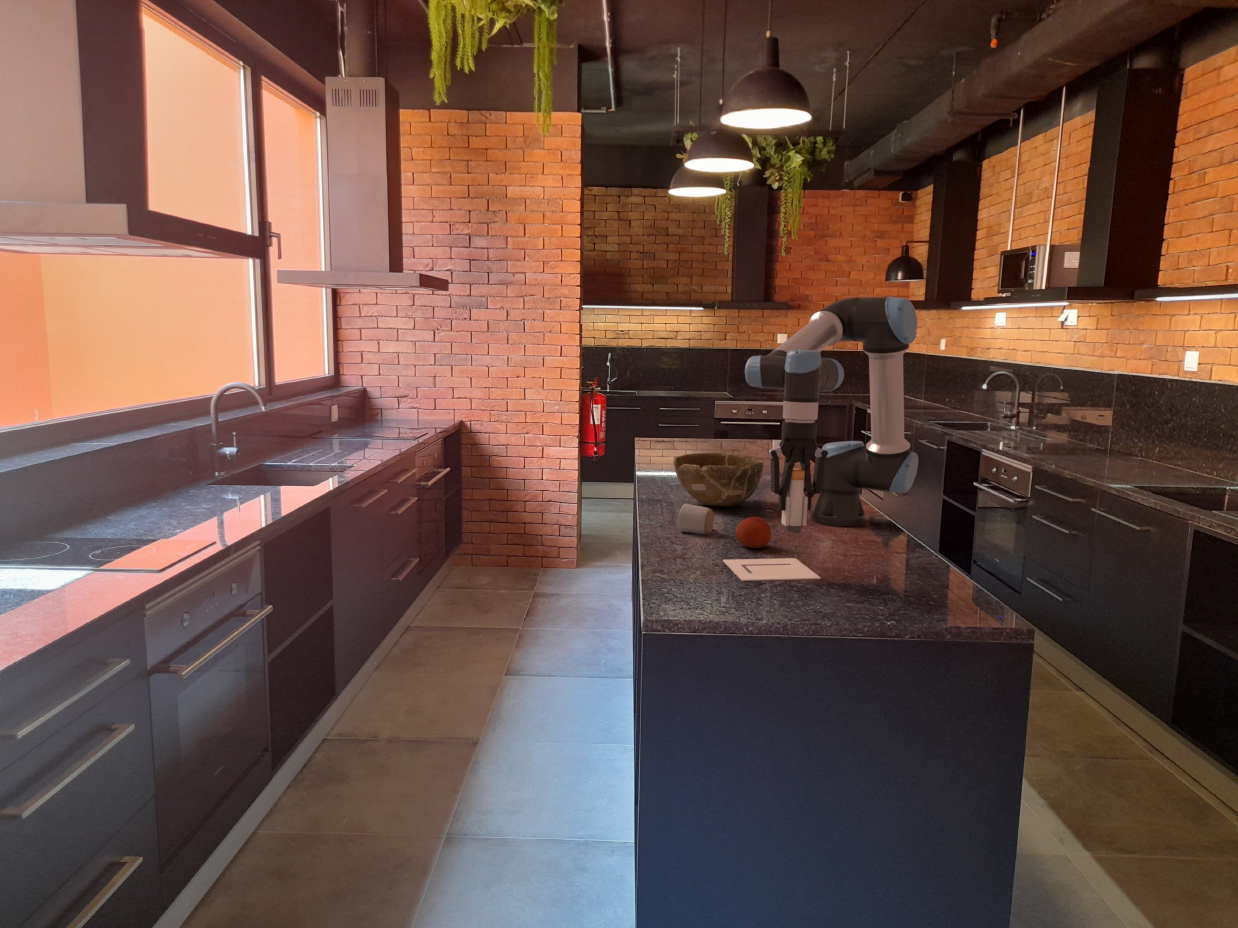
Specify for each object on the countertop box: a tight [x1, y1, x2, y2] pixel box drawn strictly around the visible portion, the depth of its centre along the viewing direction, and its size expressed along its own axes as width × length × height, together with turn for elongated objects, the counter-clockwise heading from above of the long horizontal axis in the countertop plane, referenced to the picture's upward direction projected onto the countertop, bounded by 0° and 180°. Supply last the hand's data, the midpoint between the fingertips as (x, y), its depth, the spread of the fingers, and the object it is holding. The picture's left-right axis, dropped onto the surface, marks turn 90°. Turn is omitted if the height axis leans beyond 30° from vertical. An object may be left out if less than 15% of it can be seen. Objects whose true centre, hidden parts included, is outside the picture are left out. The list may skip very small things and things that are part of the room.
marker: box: [785, 468, 805, 534], centre depth 189 cm, size 4×4×14 cm
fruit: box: [735, 515, 772, 549], centre depth 213 cm, size 9×9×8 cm
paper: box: [722, 557, 822, 582], centre depth 194 cm, size 18×16×1 cm
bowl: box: [673, 452, 764, 508], centre depth 261 cm, size 28×27×15 cm
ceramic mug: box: [677, 503, 715, 535], centre depth 228 cm, size 11×8×8 cm
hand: (793, 524), depth 190 cm, fingers closed on marker, 3 cm apart
